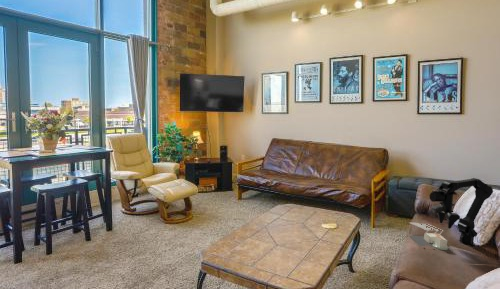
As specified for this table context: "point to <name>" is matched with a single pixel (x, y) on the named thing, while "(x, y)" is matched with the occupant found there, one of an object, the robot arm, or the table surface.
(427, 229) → the crown molding
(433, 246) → the coaster
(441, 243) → the cream block
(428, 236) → the cream labeled box
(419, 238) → the mat
